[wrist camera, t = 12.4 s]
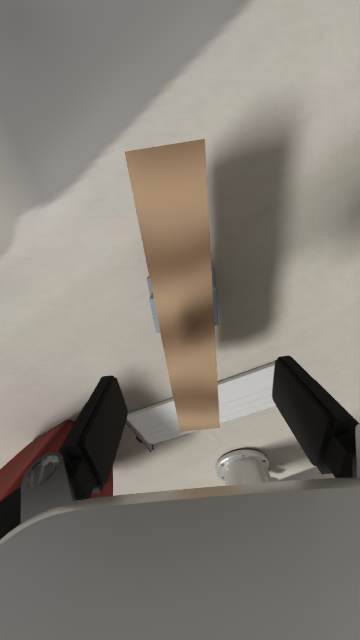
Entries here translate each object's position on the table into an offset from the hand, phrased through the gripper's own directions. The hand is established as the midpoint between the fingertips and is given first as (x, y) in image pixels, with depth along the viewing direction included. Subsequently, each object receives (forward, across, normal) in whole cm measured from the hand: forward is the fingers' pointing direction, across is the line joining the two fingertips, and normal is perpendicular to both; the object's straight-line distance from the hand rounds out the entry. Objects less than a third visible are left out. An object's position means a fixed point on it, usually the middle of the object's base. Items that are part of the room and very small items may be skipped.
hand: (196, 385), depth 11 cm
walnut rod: (+10, 0, -1) cm, 10 cm away
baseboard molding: (+18, -2, +23) cm, 29 cm away
